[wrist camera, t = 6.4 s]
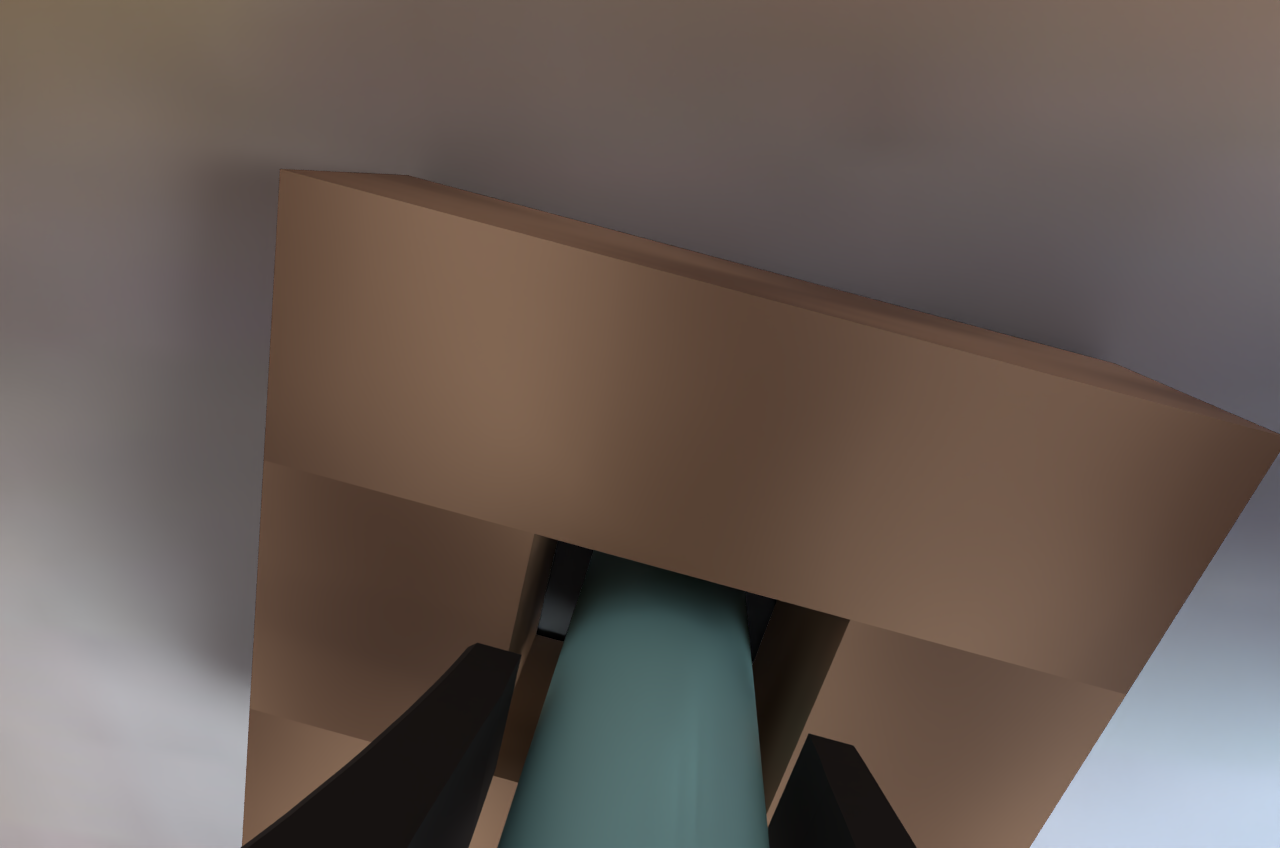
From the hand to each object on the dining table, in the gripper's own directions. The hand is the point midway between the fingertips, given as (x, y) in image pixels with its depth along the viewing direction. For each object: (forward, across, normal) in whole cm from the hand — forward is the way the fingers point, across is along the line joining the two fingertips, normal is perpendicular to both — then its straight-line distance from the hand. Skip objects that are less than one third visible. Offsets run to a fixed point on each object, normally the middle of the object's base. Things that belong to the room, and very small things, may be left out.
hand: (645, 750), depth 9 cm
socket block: (+4, 0, 0) cm, 4 cm away
